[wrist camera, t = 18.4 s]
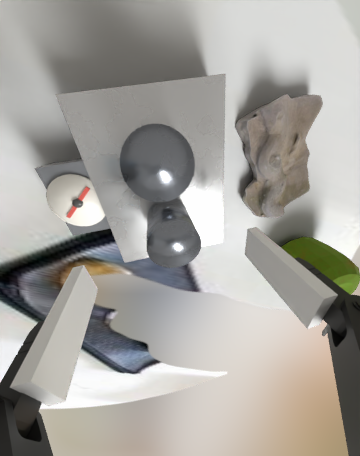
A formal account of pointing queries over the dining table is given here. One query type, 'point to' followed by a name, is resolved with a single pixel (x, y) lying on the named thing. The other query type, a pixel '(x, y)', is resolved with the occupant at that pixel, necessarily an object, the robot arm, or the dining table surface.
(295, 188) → the stone
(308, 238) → the apple
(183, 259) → the cylinder
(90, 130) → the platform
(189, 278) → the dining table surface
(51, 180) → the scale
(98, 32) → the dining table surface
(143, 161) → the cylinder
